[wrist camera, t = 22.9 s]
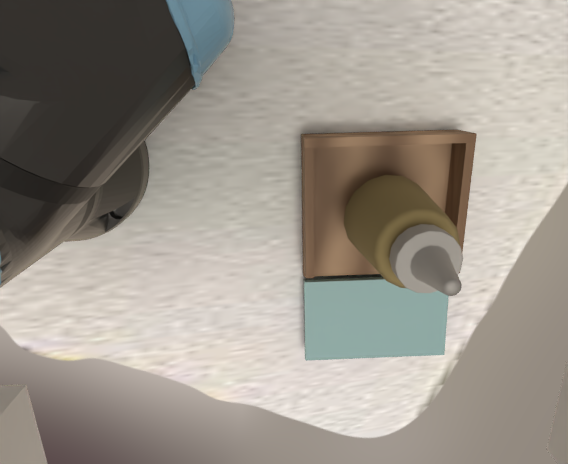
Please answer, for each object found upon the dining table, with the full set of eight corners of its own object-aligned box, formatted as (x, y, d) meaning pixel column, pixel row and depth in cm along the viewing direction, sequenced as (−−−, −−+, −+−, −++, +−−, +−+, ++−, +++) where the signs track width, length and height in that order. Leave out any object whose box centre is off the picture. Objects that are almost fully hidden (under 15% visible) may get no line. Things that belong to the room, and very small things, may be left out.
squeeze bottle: (429, 179, 41) (543, 241, 24) (400, 253, 43) (485, 357, 26) (352, 157, 40) (413, 206, 23) (327, 234, 42) (365, 329, 25)
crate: (302, 272, 45) (306, 289, 41) (301, 134, 40) (304, 138, 36) (442, 267, 45) (458, 283, 41) (457, 129, 41) (476, 133, 37)
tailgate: (303, 279, 44) (305, 356, 46) (304, 282, 43) (305, 360, 45) (446, 274, 44) (441, 351, 46) (449, 277, 43) (444, 354, 46)
